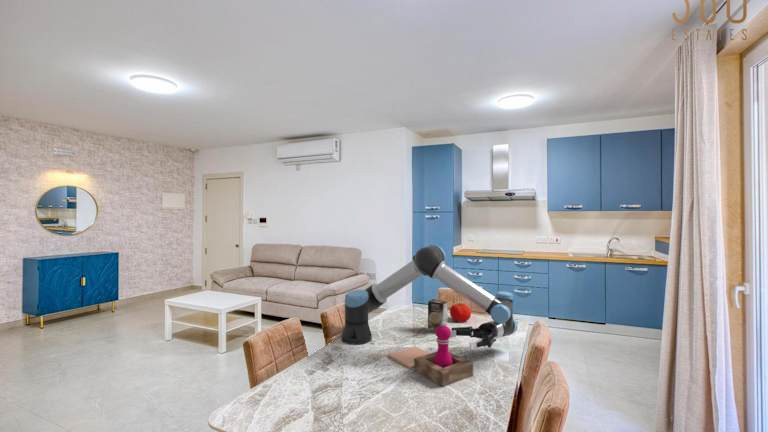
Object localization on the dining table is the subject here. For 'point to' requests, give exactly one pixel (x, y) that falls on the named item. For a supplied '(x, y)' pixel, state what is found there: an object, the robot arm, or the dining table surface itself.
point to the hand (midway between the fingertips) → (456, 340)
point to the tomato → (460, 312)
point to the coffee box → (436, 314)
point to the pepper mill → (443, 346)
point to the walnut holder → (443, 369)
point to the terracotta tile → (407, 356)
